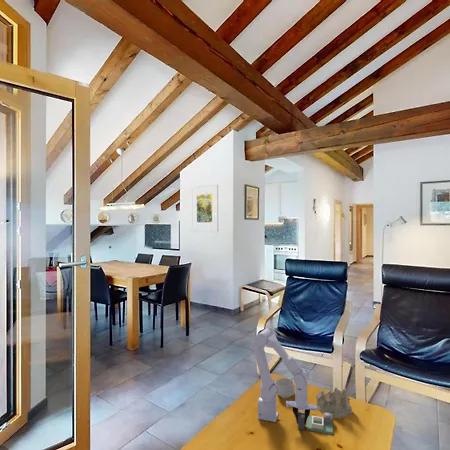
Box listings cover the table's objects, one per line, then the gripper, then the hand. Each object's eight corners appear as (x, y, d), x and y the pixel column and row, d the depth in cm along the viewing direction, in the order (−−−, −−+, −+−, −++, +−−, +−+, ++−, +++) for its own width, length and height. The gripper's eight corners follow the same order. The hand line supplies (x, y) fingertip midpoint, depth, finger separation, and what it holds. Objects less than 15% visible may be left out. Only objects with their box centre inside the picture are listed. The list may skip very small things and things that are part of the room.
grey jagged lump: (357, 413, 163) (354, 384, 164) (332, 422, 157) (329, 391, 158) (336, 399, 178) (334, 373, 179) (312, 407, 172) (310, 379, 172)
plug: (298, 429, 151) (297, 415, 151) (298, 423, 155) (298, 410, 155) (304, 430, 150) (304, 416, 150) (304, 425, 154) (304, 411, 154)
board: (306, 429, 151) (306, 420, 151) (307, 417, 160) (307, 408, 160) (332, 434, 147) (332, 425, 147) (332, 421, 157) (332, 413, 157)
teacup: (287, 402, 174) (286, 388, 174) (271, 395, 182) (271, 381, 182) (301, 393, 183) (301, 380, 183) (286, 386, 191) (286, 373, 191)
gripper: (285, 397, 151) (285, 425, 151) (316, 402, 147) (316, 431, 147) (287, 389, 158) (287, 416, 158) (316, 394, 153) (317, 422, 153)
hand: (301, 423), depth 153 cm, fingers closed on plug, 3 cm apart
